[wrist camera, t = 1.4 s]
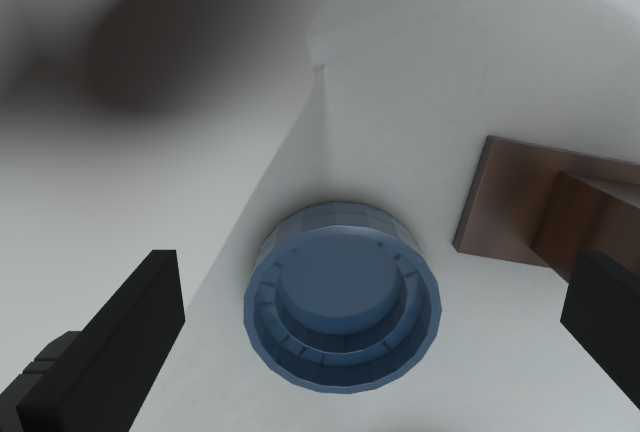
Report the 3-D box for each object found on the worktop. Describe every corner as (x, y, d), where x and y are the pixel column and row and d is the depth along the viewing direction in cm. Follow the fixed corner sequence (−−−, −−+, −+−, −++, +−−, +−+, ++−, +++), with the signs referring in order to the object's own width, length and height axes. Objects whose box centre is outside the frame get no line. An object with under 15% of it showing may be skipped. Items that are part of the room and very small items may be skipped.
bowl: (221, 287, 39) (204, 325, 34) (330, 162, 35) (332, 183, 30) (346, 374, 43) (349, 422, 37) (459, 270, 39) (482, 307, 33)
